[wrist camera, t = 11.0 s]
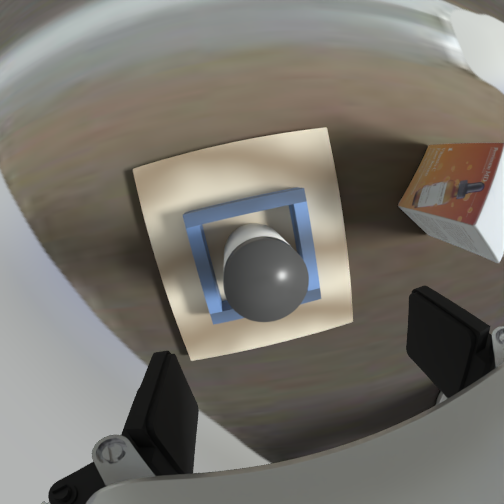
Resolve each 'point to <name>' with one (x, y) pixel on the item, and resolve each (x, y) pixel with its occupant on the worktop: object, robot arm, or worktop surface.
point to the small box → (460, 196)
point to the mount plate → (236, 215)
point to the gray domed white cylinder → (263, 274)
